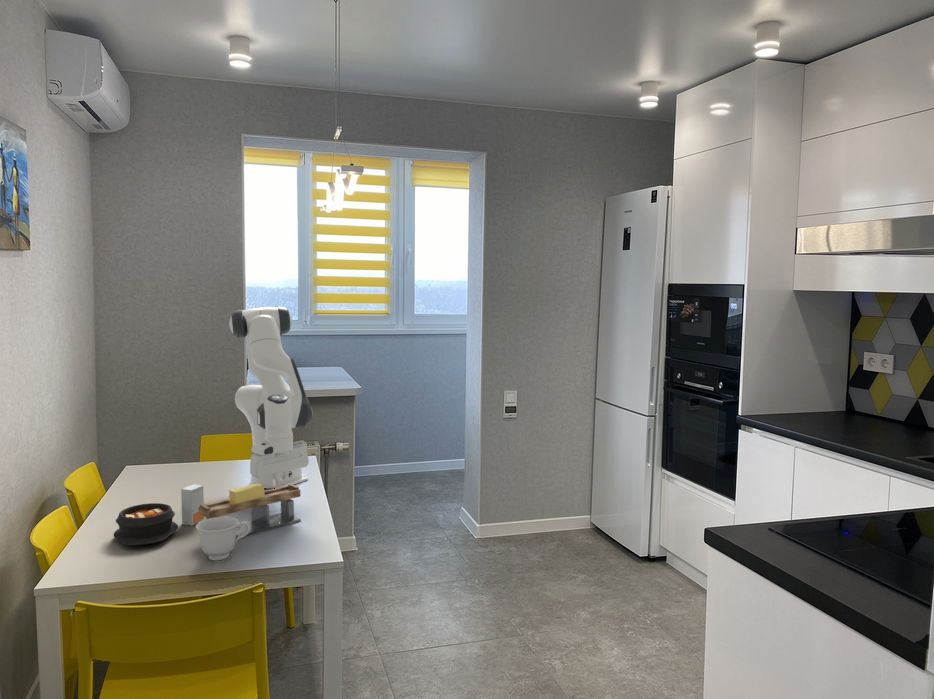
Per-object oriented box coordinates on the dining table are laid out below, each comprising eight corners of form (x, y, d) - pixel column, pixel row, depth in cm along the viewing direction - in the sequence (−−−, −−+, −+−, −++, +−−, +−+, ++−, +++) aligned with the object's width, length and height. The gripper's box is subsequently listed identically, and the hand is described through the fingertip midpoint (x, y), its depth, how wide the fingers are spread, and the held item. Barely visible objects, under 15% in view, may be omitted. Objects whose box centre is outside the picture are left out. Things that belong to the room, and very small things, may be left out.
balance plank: (289, 491, 245) (289, 483, 245) (300, 496, 240) (300, 487, 240) (198, 513, 223) (198, 504, 222) (208, 518, 218) (208, 509, 217)
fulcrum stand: (285, 514, 246) (284, 491, 245) (300, 521, 239) (300, 498, 238) (200, 536, 225) (199, 511, 224) (215, 544, 218) (214, 519, 217)
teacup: (250, 561, 206) (249, 527, 205) (195, 566, 202) (194, 532, 201) (250, 545, 218) (249, 513, 217) (198, 551, 213) (197, 518, 212)
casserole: (177, 546, 217) (176, 519, 216) (109, 554, 210) (108, 527, 209) (179, 520, 240) (178, 495, 239) (117, 526, 234) (116, 501, 233)
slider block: (258, 496, 235) (258, 483, 234) (264, 499, 232) (264, 485, 231) (229, 503, 228) (229, 489, 227) (235, 506, 225) (235, 492, 224)
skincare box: (192, 526, 234) (190, 490, 233) (181, 524, 236) (180, 488, 235) (204, 520, 240) (203, 485, 239) (194, 518, 241) (193, 483, 240)
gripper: (301, 437, 247) (302, 476, 248) (246, 448, 232) (248, 489, 234) (311, 440, 242) (312, 480, 244) (256, 451, 228) (258, 493, 229)
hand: (280, 484), depth 239 cm, fingers closed
